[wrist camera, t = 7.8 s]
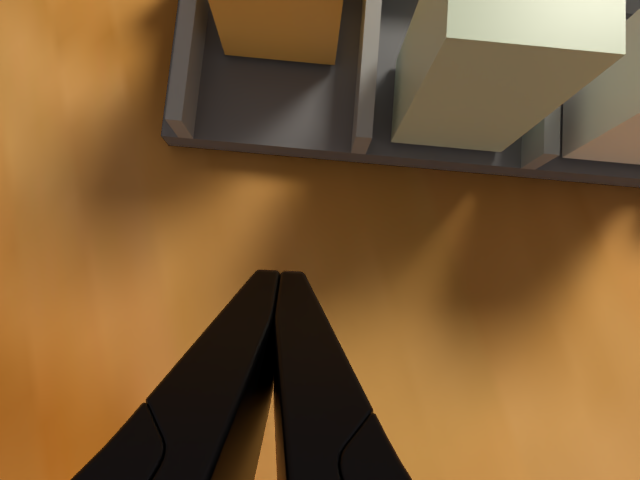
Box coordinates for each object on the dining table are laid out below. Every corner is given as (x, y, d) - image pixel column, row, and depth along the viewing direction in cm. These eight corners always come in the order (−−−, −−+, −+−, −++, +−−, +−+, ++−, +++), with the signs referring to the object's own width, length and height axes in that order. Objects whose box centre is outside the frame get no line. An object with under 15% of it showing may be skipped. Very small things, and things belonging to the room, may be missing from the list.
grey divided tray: (696, 192, 22) (762, 173, 19) (168, 145, 22) (145, 117, 18) (693, 22, 23) (755, -23, 20) (190, -27, 23) (172, -81, 20)
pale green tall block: (501, 152, 21) (625, 54, 13) (390, 142, 20) (446, 37, 13) (504, 70, 21) (625, -73, 13) (396, 60, 21) (452, -91, 13)
